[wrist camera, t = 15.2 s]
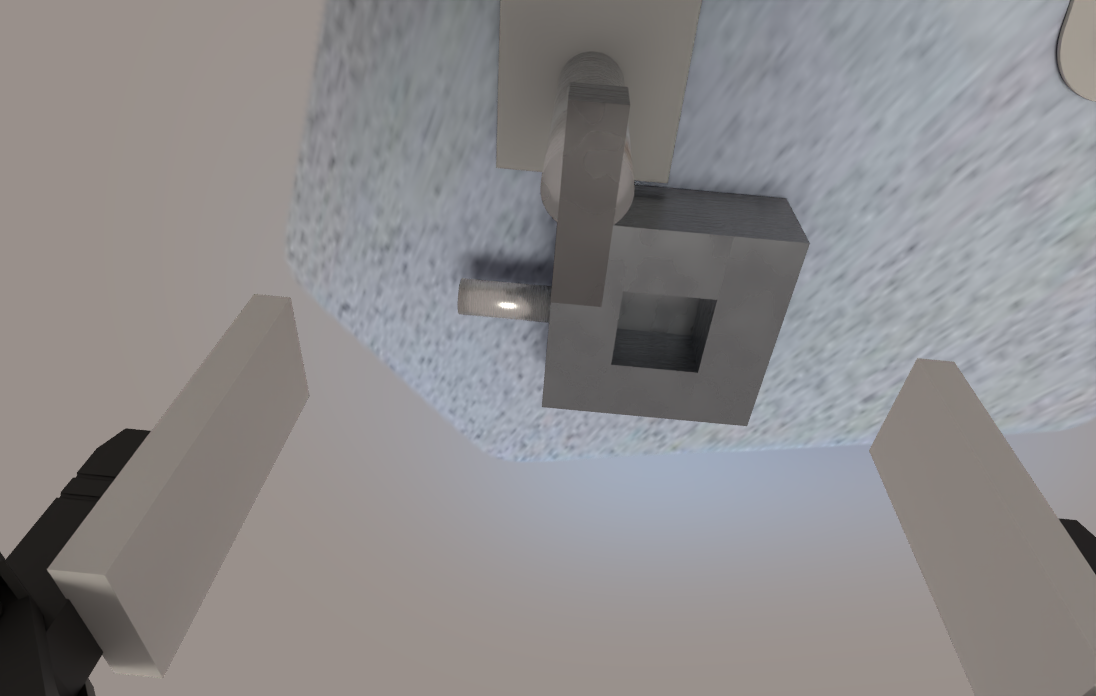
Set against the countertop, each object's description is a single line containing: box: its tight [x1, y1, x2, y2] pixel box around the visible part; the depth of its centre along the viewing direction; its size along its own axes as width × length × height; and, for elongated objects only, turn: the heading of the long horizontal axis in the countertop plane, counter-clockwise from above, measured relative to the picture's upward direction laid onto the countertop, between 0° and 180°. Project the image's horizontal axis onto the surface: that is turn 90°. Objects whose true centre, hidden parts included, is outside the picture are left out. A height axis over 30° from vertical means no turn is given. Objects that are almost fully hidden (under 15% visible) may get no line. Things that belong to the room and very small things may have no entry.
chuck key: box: [541, 51, 635, 307], centre depth 27 cm, size 7×3×14 cm, turn 176°
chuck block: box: [458, 185, 810, 426], centre depth 38 cm, size 12×17×5 cm
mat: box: [496, 0, 702, 183], centre depth 33 cm, size 9×9×1 cm
